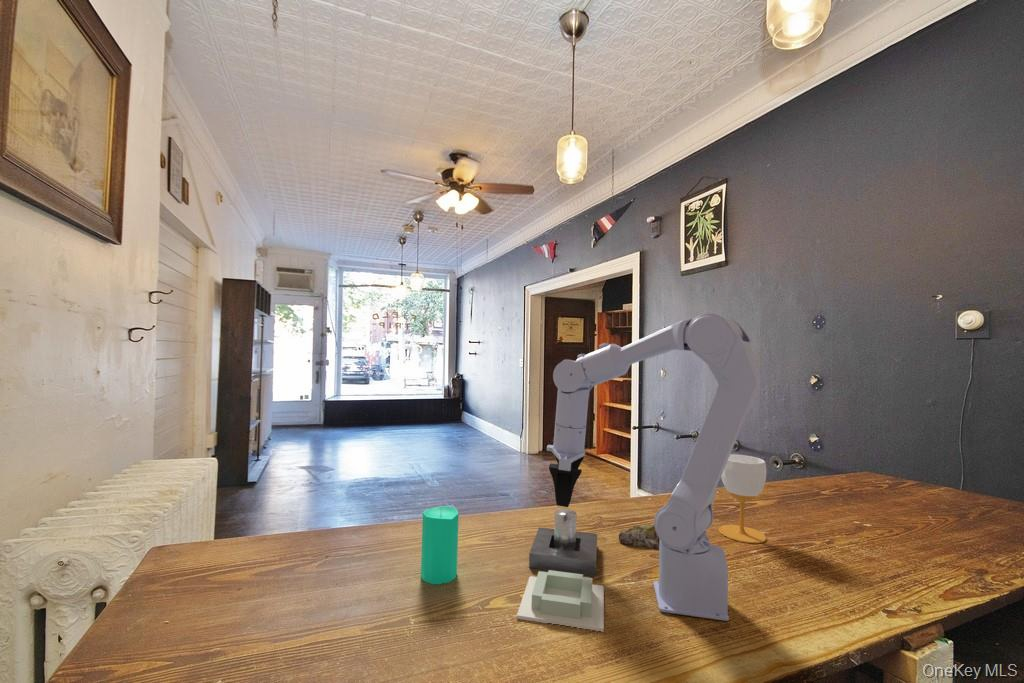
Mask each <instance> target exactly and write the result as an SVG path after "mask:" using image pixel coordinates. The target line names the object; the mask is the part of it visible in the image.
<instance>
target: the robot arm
mask: <svg viewBox="0 0 1024 683" xmlns="http://www.w3.org/2000/svg"><path fill="white" fill-rule="evenodd" d="M675 350H677V351H687V352H688V351H690V352H692V353H693V354H695V355H696V356H697V357H698V358H699V359H700V360H701V361H703V362H704V363H705V364H706V365H707V366H708V368H709V370H710V372H711V373H712V375H713V376H714V378H715V380H716V381H717V384H718V386H717V388H716V391H715V393H714V396H713V399H712V401H711V402H710V405H709V408H708V410H707V413H706V416H705V418H704V420H703V423H702V426H701V428H700V431H699V433H698V436H697V438H696V441H695V442H694V443H695V444H694V446H693V448H692V450H691V453H690V456H689V457H688V458H689V459H688V461H687V464H686V465H685V468H684V471H683V474H682V476H681V477H680V480H679V482H678V484H677V485H676V486H675V488H674V489H673V491H672V493H671V494H670V497H669V500H668V501H667V502H666V504H665V505H664V506H662V507H661V508H659V509H658V510H657V512H656V513H655V515H654V520H653V521H654V522H653V525H654V526H655V530H656V533H657V535H658V536H659V538H660V540H659V548H658V549H659V550H658V551H659V552H658V554H659V556H658V557H659V558H658V560H659V561H658V581H657V580H655V581H653V589H654V592H655V597H656V601H657V606H658V610H659V611H660V612H662V613H667V614H675V615H681V616H683V615H684V616H688V617H689V616H690V617H698V618H704V619H710V620H718V621H725V622H728V621H729V620H730V617H729V615H728V612H729V611H728V607H729V603H728V600H729V598H728V597H729V595H728V594H729V593H728V592H729V591H728V590H729V572H728V562H727V557H726V554H725V550H724V549H723V547H722V546H720V545H716V544H711V542H710V539H709V537H708V535H707V533H706V532H707V530H708V529H709V528H710V527H711V526H712V525H713V520H714V510H713V504H714V501H715V498H716V496H717V494H716V489H717V487H718V485H719V482H720V480H721V479H722V478H721V475H722V473H723V471H724V468H725V466H726V463H727V461H728V459H729V456H730V454H732V451H733V449H734V446H735V444H736V442H737V439H738V437H739V434H740V432H741V430H742V427H743V426H744V422H745V420H746V417H747V415H748V413H749V410H750V409H751V406H752V403H753V402H754V399H755V396H756V394H757V391H758V389H759V386H760V381H761V380H760V375H759V370H758V367H757V363H756V359H755V356H754V352H753V346H752V339H751V338H750V336H749V335H748V334H747V332H746V331H745V329H744V328H743V327H742V325H741V324H740V323H739V322H737V321H736V320H734V319H731V318H728V317H725V316H722V315H719V314H717V313H713V312H712V313H711V312H707V313H703V314H699V315H698V316H696V317H694V318H687V319H683V320H681V321H677V322H676V323H673V324H670V325H669V326H666V327H665V328H662V329H660V330H657V331H655V332H653V333H651V334H649V335H647V336H644V337H642V338H639V339H638V340H636V341H633V342H631V343H629V344H627V345H623V347H622V346H621V345H618V344H616V343H611V344H610V343H607V342H603V343H602V344H601V343H600V344H599V348H598V349H596V350H594V351H591V352H589V353H587V354H586V353H580V354H578V355H577V359H576V360H572V359H563V360H562V361H561V362H559V363H557V365H555V367H554V370H553V373H552V380H553V382H554V383H553V384H554V385H555V386H556V388H557V395H556V396H557V397H556V407H555V408H556V409H555V420H554V433H553V434H554V436H553V444H547V446H546V451H547V452H552V454H553V455H554V456H555V459H556V462H557V463H549V465H548V471H549V474H550V475H551V478H552V481H553V486H554V496H555V502H556V503H555V504H556V506H558V507H564V508H569V506H570V504H571V500H572V496H573V492H574V489H575V485H576V483H577V481H578V479H579V478H580V477H581V475H582V469H579V467H580V465H581V464H582V461H583V460H585V458H584V457H585V456H586V455H585V454H586V450H585V447H586V446H585V444H586V431H587V423H588V422H587V420H588V408H589V398H590V392H591V390H592V389H593V388H594V386H597V385H600V384H603V383H605V382H609V381H611V380H614V379H617V378H619V377H623V376H624V375H626V374H627V373H628V371H629V368H630V367H631V365H633V364H635V363H636V364H637V363H639V362H642V361H645V360H647V359H650V358H653V357H654V358H655V357H657V356H660V355H663V354H666V353H668V352H672V351H675Z"/></svg>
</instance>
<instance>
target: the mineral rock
mask: <svg viewBox="0 0 1024 683" xmlns="http://www.w3.org/2000/svg"><path fill="white" fill-rule="evenodd" d="M618 539H619V543H620V544H622V543H623V545H626V544H627V545H626V546H628V545H631V546H630V547H637V546H639V547H645V548H649V549H659V540H660V538H659V536H658V535H657V533H656V530H655V526H654V524H653V525H652V524H645V525H643V526H640V525H633V526H632V528H628V529H626V530H624V531H623V530H622V531H620V532H619V534H618Z"/></svg>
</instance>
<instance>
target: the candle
mask: <svg viewBox="0 0 1024 683" xmlns="http://www.w3.org/2000/svg"><path fill="white" fill-rule="evenodd" d="M459 513H460V512H459V511H458V509H457V507H454V506H448V505H447V506H445V505H444V506H443V504H442V502H440V506H435V507H432V508H429V509H428V508H427V509H425V510H424V511H423V512H422V523H421V524H422V526H421V527H422V533H421V560H420V561H421V563H420V578H421V579H422V581H423V580H424V581H426V582H425V583H427V582H428V583H427V584H430V583H431V584H430V585H443V584H442V583H444V584H448V583H451V582H452V581H453V580H455V579H456V578H457V573H458V548H459V546H458V545H459V544H458V543H459V518H460V517H459V516H460V514H459ZM424 581H423V582H424ZM447 582H448V583H447Z"/></svg>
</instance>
